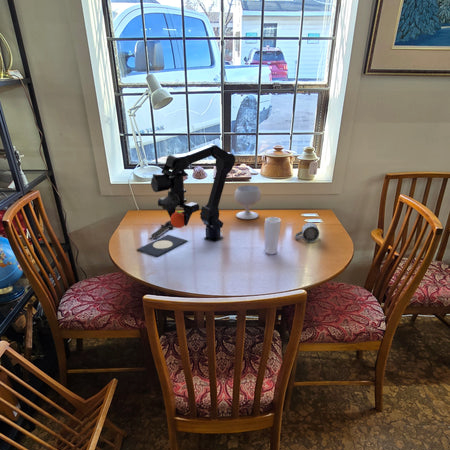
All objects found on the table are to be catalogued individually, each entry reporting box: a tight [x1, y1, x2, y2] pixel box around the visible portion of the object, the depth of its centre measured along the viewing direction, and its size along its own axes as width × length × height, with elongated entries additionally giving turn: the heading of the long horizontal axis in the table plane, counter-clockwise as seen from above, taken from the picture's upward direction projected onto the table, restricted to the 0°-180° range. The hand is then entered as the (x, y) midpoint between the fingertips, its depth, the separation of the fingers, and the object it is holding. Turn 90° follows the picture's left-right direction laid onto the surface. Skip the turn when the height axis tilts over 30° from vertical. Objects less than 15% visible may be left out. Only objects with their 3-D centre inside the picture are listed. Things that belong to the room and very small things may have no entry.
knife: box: [150, 220, 175, 240], centre depth 184 cm, size 25×6×1 cm, turn 154°
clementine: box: [169, 210, 185, 229], centre depth 160 cm, size 8×7×7 cm
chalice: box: [234, 185, 262, 220], centre depth 197 cm, size 14×14×15 cm
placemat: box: [137, 234, 188, 258], centre depth 169 cm, size 12×20×1 cm, turn 145°
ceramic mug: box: [294, 222, 320, 243], centre depth 173 cm, size 11×8×8 cm
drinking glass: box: [263, 216, 282, 255], centre depth 159 cm, size 7×7×15 cm
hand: (179, 223), depth 161 cm, fingers closed on clementine, 7 cm apart
